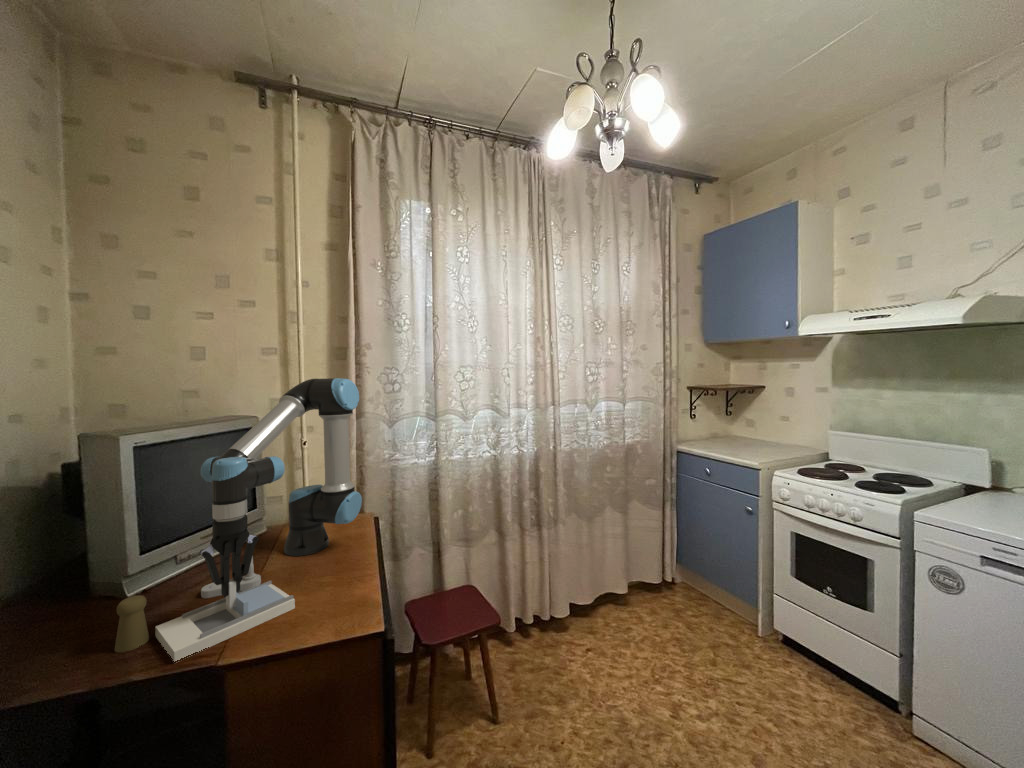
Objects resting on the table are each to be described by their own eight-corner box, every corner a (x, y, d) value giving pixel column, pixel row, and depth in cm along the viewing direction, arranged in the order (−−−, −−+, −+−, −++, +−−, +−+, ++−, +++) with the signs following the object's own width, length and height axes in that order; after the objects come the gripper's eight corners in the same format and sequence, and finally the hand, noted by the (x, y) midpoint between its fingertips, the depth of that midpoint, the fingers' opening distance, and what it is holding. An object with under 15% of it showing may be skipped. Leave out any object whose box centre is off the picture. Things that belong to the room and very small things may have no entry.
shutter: (265, 586, 115) (265, 573, 115) (285, 599, 108) (284, 586, 108) (225, 601, 107) (225, 588, 107) (243, 617, 100) (243, 603, 100)
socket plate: (269, 590, 117) (269, 579, 117) (294, 608, 108) (294, 596, 108) (155, 636, 96) (155, 623, 96) (174, 663, 87) (174, 648, 87)
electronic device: (203, 560, 117) (261, 550, 123) (204, 592, 118) (262, 580, 124) (196, 568, 113) (257, 557, 118) (198, 601, 113) (259, 588, 119)
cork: (129, 636, 96) (129, 592, 96) (156, 634, 97) (155, 591, 97) (106, 653, 90) (106, 606, 90) (134, 651, 91) (134, 604, 91)
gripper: (252, 507, 110) (252, 590, 110) (194, 521, 99) (195, 612, 99) (263, 512, 106) (264, 599, 106) (204, 527, 95) (205, 623, 95)
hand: (231, 605), depth 103 cm, fingers closed
